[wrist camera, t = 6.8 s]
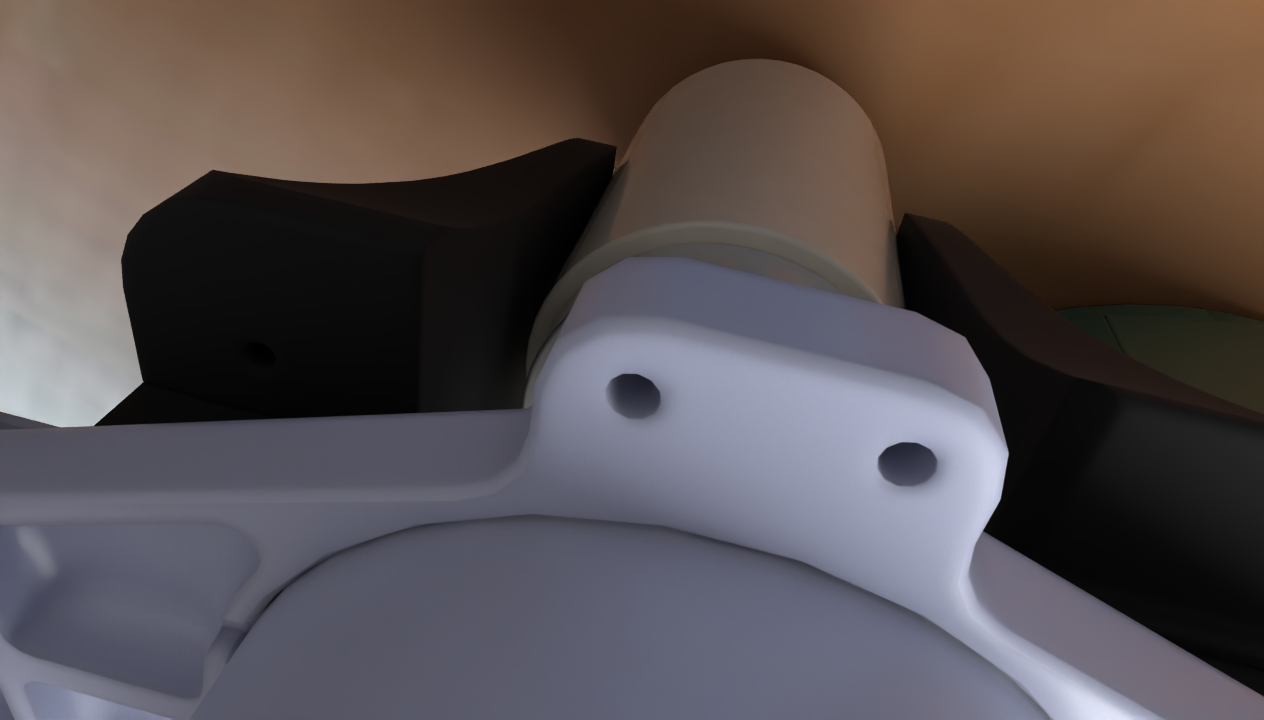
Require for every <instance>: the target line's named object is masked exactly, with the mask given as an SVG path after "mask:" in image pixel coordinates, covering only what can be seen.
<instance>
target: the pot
mask: <svg viewBox="0 0 1264 720" xmlns="http://www.w3.org/2000/svg"><path fill="white" fill-rule="evenodd" d="M1056 312H1058V313H1059V314H1060V315H1062V316H1063V317H1065V318H1066V319H1068V320H1069V321H1071V322H1072V323H1074V324H1075V325H1077V326H1078V327H1080V328H1082V329H1083V330H1085V331H1086V332H1088V333H1090V334H1091V335H1093V336H1094V337H1096V338H1098V339H1099V340H1101V341H1102V342H1104V343H1106V344H1107V345H1109V346H1111V347H1113V348H1114V349H1116V350H1118V351H1120V352H1122V353H1123V354H1125V355H1127V356H1129V357H1131V358H1133V359H1135V360H1137V361H1139V362H1141V363H1143V364H1145V365H1147V366H1149V367H1151V368H1153V369H1155V370H1157V371H1159V372H1161V373H1163V374H1165V375H1167V376H1169V377H1171V378H1174V379H1176V380H1178V381H1180V382H1183V383H1185V384H1187V385H1190V386H1192V387H1194V388H1196V389H1199V390H1201V391H1204V392H1206V393H1209V394H1211V395H1214V396H1216V397H1219V398H1222V399H1224V400H1227V401H1229V402H1232V403H1234V404H1237V405H1239V406H1242V407H1245V408H1247V409H1250V410H1253V411H1256V412H1259V413H1262V414H1264V322H1261V321H1258V320H1254V319H1250V318H1246V317H1242V316H1238V315H1234V314H1230V313H1226V312H1219V311H1212V310H1204V309H1197V308H1189V307H1182V306H1174V305H1135V304H1118V305H1105V306H1092V307H1079V308H1069V309H1063V310H1058V311H1056Z"/></svg>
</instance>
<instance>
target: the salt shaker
mask: <svg viewBox="0 0 1264 720" xmlns="http://www.w3.org/2000/svg"><path fill="white" fill-rule="evenodd" d="M627 257H685V258H689V259H693V260H698V261H702V262H706V263H710V264H715V265H719V266H723V267H727V268H731V269H736V270H740V271H744V272H748V273H753V274H757V275H761V276H765V277H770V278H774V279H778V280H782V281H786V282H791V283H795V284H799V285H803V286H808V287H812V288H816V289H820V290H824V291H829V292H833V293H837V294H841V295H846V296H850V297H854V298H858V299H863V300H867V301H871V302H875V303H879V304H884V305H888V306H892V307H896V308H901V309H905V310H906V303H905V296H904V289H903V281H902V274H901V267H900V260H899V253H898V245H897V238H896V231H895V224H894V217H893V209H892V202H891V195H890V188H889V181H888V174H887V166H886V161H885V157H884V152H883V148H882V145H881V143H880V140H879V137H878V134H877V132H876V130H875V129H874V127H873V125H872V123H871V121H870V119H869V118H868V116H867V115H866V114H865V112H864V111H863V110H862V108H861V107H860V106H859V104H858V103H857V102H856V101H855V100H854V99H853V98H852V97H851V96H850V95H849V94H848V93H847V92H846V91H845V90H843V89H842V88H841V87H839V86H838V85H837V84H835V83H834V82H833V81H831V80H829V79H828V78H826V77H824V76H822V75H821V74H819V73H817V72H815V71H812V70H810V69H807V68H805V67H802V66H800V65H796V64H792V63H788V62H784V61H779V60H769V59H742V60H736V61H730V62H725V63H721V64H718V65H715V66H712V67H708V68H706V69H704V70H702V71H699V72H697V73H695V74H693V75H691V76H689V77H688V78H686V79H685V80H683V81H681V82H680V83H678V84H677V85H676V86H674V87H673V88H672V89H671V90H670V91H668V92H667V93H666V94H665V95H664V96H663V97H662V98H661V99H660V100H659V101H658V102H657V103H656V104H655V105H654V107H653V108H652V109H651V110H650V112H649V113H648V115H647V116H646V118H645V119H644V121H643V122H642V124H641V126H640V127H639V129H638V131H637V133H636V135H635V137H634V138H633V140H632V142H631V144H630V146H629V147H628V149H627V151H626V153H625V155H624V156H623V158H622V160H621V162H620V164H619V165H618V167H617V169H616V171H615V173H614V175H613V176H612V178H611V180H610V182H609V184H608V185H607V187H606V189H605V191H604V193H603V194H602V196H601V198H600V200H599V202H598V204H597V205H596V207H595V209H594V211H593V213H592V214H591V216H590V218H589V220H588V222H587V223H586V225H585V227H584V229H583V231H582V232H581V234H580V236H579V238H578V240H577V242H576V243H575V245H574V247H573V249H572V251H571V252H570V254H569V256H568V258H567V260H566V261H565V263H564V265H563V267H562V269H561V271H560V272H559V274H558V276H557V278H556V280H555V281H554V283H553V285H552V287H551V289H550V290H549V292H548V294H547V296H546V298H545V299H544V301H543V303H542V305H541V307H540V310H539V312H538V314H537V316H536V318H535V320H534V323H533V326H532V329H531V333H530V336H529V339H528V346H527V353H526V382H525V386H524V392H523V400H522V409H526V408H528V407H530V406H532V404H533V396H534V388H535V383H536V380H537V378H538V376H539V374H540V372H541V370H542V368H543V366H544V364H545V362H546V360H547V358H548V356H549V354H550V352H551V350H552V348H553V346H554V344H555V341H556V339H557V337H558V335H559V333H560V331H561V329H562V327H563V325H564V323H565V321H566V319H567V317H568V315H569V313H570V311H571V309H572V307H573V305H574V303H575V301H576V299H577V297H578V295H579V293H580V291H581V289H582V287H583V285H584V282H585V281H587V280H588V279H590V278H592V277H594V276H595V275H597V274H599V273H601V272H602V271H604V270H606V269H608V268H609V267H611V266H613V265H615V264H616V263H618V262H620V261H622V260H623V259H625V258H627Z"/></svg>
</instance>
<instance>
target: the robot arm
mask: <svg viewBox="0 0 1264 720" xmlns="http://www.w3.org/2000/svg"><path fill="white" fill-rule="evenodd" d="M616 150H617V147H616V146H611V145H607V144H603V143H598V142H594V141H590V140H585V139H581V138H573V139H569V140H565V141H562V142H559V143H556V144H553V145H550V146H547V147H545V148H542V149H539V150H536V151H533V152H530V153H528V154H525V155H522V156H519V157H516V158H513V159H510V160H507V161H503V162H500V163H496V164H493V165H489V166H486V167H482V168H479V169H475V170H472V171H468V172H463V173H459V174H454V175H449V176H443V177H436V178H430V179H423V180H415V181H403V182H386V183H368V184H336V183H315V182H299V181H288V180H279V179H272V178H265V177H257V176H250V175H243V174H235V173H228V172H223V171H217V170H212V171H210V172H208V173H207V174H205V175H204V176H202V177H201V178H199V179H198V180H196V181H195V182H193V183H191V184H190V185H188V186H187V187H185V188H184V189H182V190H181V191H179V192H177V193H176V194H174V195H173V196H171V197H170V198H168V199H167V200H165V201H163V202H162V203H160V204H159V205H157V206H156V207H154V208H153V209H151V210H150V211H148V212H146V213H145V214H143V215H142V217H141V218H140V219H139V221H138V222H137V223H136V225H135V226H134V227H133V229H132V230H131V231H130V232H129V234H128V236H127V240H126V243H125V247H124V251H123V255H122V259H121V264H122V278H123V289H124V294H125V299H126V303H127V308H128V313H129V318H130V322H131V327H132V332H133V337H134V341H135V346H136V351H137V356H138V360H139V365H140V370H141V375H142V379H143V381H144V382H143V383H142V384H141V385H140V386H139V387H138V388H136V389H135V390H134V391H133V392H132V393H131V394H130V395H128V396H127V397H126V398H125V399H124V400H123V401H122V402H120V403H119V404H118V405H117V406H116V407H115V408H114V409H112V410H111V411H110V412H109V413H108V414H107V415H106V416H105V417H103V418H102V419H101V420H100V421H99V422H98V423H97V424H95V425H94V426H89V427H63V428H61V427H57V426H53V425H49V424H45V423H41V422H38V421H34V420H30V419H26V418H22V417H19V416H15V415H11V414H7V413H3V412H0V720H1264V414H1262V413H1259V412H1256V411H1253V410H1250V409H1247V408H1245V407H1242V406H1239V405H1237V404H1234V403H1232V402H1229V401H1227V400H1224V399H1222V398H1219V397H1216V396H1214V395H1211V394H1209V393H1206V392H1204V391H1201V390H1199V389H1196V388H1194V387H1192V386H1190V385H1187V384H1185V383H1183V382H1180V381H1178V380H1176V379H1174V378H1171V377H1169V376H1167V375H1165V374H1163V373H1161V372H1159V371H1157V370H1155V369H1153V368H1151V367H1149V366H1147V365H1145V364H1143V363H1141V362H1139V361H1137V360H1135V359H1133V358H1131V357H1129V356H1127V355H1125V354H1123V353H1122V352H1120V351H1118V350H1116V349H1114V348H1113V347H1111V346H1109V345H1107V344H1106V343H1104V342H1102V341H1101V340H1099V339H1098V338H1096V337H1094V336H1093V335H1091V334H1090V333H1088V332H1086V331H1085V330H1083V329H1082V328H1080V327H1078V326H1077V325H1075V324H1074V323H1072V322H1071V321H1069V320H1068V319H1066V318H1065V317H1063V316H1062V315H1060V314H1059V313H1058V312H1056V311H1055V310H1054V309H1052V308H1051V307H1050V306H1048V305H1047V304H1046V303H1044V302H1043V301H1042V300H1041V299H1039V298H1038V297H1037V296H1035V295H1034V294H1033V293H1031V292H1030V291H1029V290H1028V289H1026V288H1025V287H1024V286H1023V285H1022V284H1020V283H1019V282H1018V281H1017V280H1016V279H1014V278H1013V277H1012V276H1011V275H1010V274H1009V273H1007V272H1006V271H1005V270H1004V269H1003V268H1002V267H1001V266H999V265H998V264H997V263H996V262H995V261H994V260H993V259H992V258H990V257H989V256H988V255H987V254H986V253H985V252H984V251H983V250H981V249H980V248H979V247H978V246H977V245H976V244H975V243H974V242H972V241H971V240H970V239H969V238H968V237H967V236H965V235H964V234H963V233H962V232H960V231H959V230H958V229H957V228H955V227H954V226H952V225H950V224H948V223H947V222H943V221H939V220H934V219H930V218H926V217H921V216H917V215H912V214H908V213H905V214H904V217H903V219H902V222H901V225H900V227H899V230H898V232H897V235H896V238H897V245H898V253H899V260H900V267H901V274H902V281H903V289H904V296H905V303H906V310H905V309H901V308H896V307H892V306H888V305H884V304H879V303H875V302H871V301H867V300H863V299H858V298H854V297H850V296H846V295H841V294H837V293H833V292H829V291H824V290H820V289H816V288H812V287H808V286H803V285H799V284H795V283H791V282H786V281H782V280H778V279H774V278H770V277H765V276H761V275H757V274H753V273H748V272H744V271H740V270H736V269H731V268H727V267H723V266H719V265H715V264H710V263H706V262H702V261H698V260H693V259H689V258H685V257H627V258H625V259H623V260H622V261H620V262H618V263H616V264H615V265H613V266H611V267H609V268H608V269H606V270H604V271H602V272H601V273H599V274H597V275H595V276H594V277H592V278H590V279H588V280H587V281H585V282H584V285H583V287H582V289H581V291H580V293H579V295H578V297H577V299H576V301H575V303H574V305H573V307H572V309H571V311H570V313H569V315H568V317H567V319H566V321H565V323H564V325H563V327H562V329H561V331H560V333H559V335H558V337H557V339H556V341H555V344H554V346H553V348H552V350H551V352H550V354H549V356H548V358H547V360H546V362H545V364H544V366H543V368H542V370H541V372H540V374H539V376H538V378H537V380H536V383H535V388H534V396H533V404H532V406H530V407H528V408H526V409H522V400H523V392H524V386H525V382H526V353H527V346H528V339H529V336H530V333H531V329H532V326H533V323H534V320H535V318H536V316H537V314H538V312H539V310H540V307H541V305H542V303H543V301H544V299H545V298H546V296H547V294H548V292H549V290H550V289H551V287H552V285H553V283H554V281H555V280H556V278H557V276H558V274H559V272H560V271H561V269H562V267H563V265H564V263H565V261H566V260H567V258H568V256H569V254H570V252H571V251H572V249H573V247H574V245H575V243H576V242H577V240H578V238H579V236H580V234H581V232H582V231H583V229H584V227H585V225H586V223H587V222H588V220H589V218H590V216H591V214H592V213H593V211H594V209H595V207H596V205H597V204H598V202H599V200H600V198H601V196H602V194H603V193H604V191H605V189H606V187H607V185H608V184H609V182H610V180H611V178H612V175H613V169H614V163H615V156H616Z"/></svg>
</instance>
